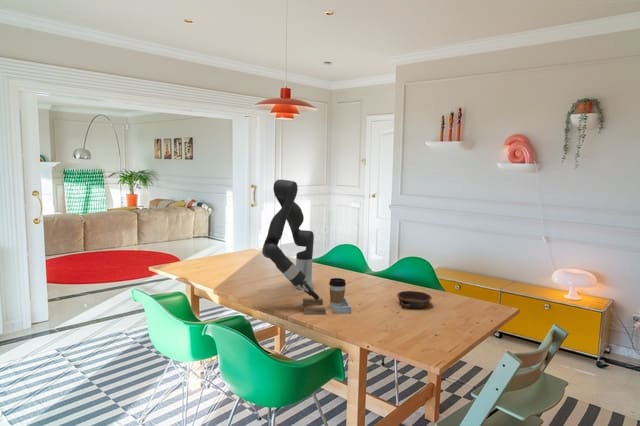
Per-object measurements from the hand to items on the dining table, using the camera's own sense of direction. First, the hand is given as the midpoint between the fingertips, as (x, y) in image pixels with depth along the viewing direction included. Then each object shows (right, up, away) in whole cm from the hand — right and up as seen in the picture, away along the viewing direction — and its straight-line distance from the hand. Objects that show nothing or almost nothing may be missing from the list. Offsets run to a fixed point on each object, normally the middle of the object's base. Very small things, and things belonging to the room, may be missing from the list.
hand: (317, 298), depth 217 cm
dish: (+50, -6, +12) cm, 52 cm away
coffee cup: (+9, -5, +1) cm, 11 cm away
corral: (+11, -5, +2) cm, 12 cm away
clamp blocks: (-2, -5, +1) cm, 5 cm away
